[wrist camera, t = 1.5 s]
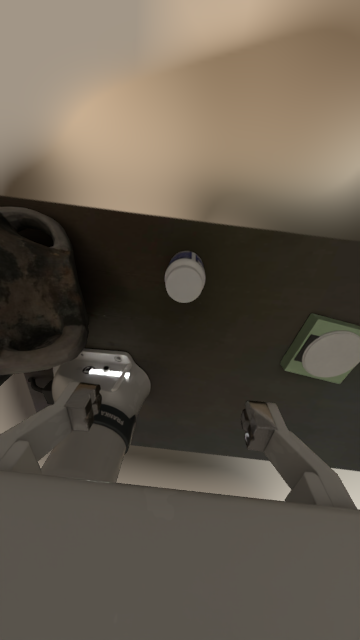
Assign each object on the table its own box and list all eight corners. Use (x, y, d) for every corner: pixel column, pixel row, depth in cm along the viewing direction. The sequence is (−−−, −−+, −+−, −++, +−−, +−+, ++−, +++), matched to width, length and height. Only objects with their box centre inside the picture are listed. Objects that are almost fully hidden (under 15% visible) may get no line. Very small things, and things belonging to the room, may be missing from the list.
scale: (279, 362, 42) (285, 372, 39) (311, 312, 36) (320, 320, 34) (332, 375, 42) (341, 386, 40) (371, 328, 37) (384, 337, 34)
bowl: (68, 212, 39) (-35, 206, 33) (58, 141, 16) (-289, 74, 10) (91, 340, 47) (11, 354, 40) (105, 412, 24) (-73, 472, 18)
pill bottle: (165, 277, 35) (155, 298, 26) (176, 244, 32) (169, 255, 23) (195, 288, 35) (196, 312, 27) (208, 257, 33) (214, 272, 24)
